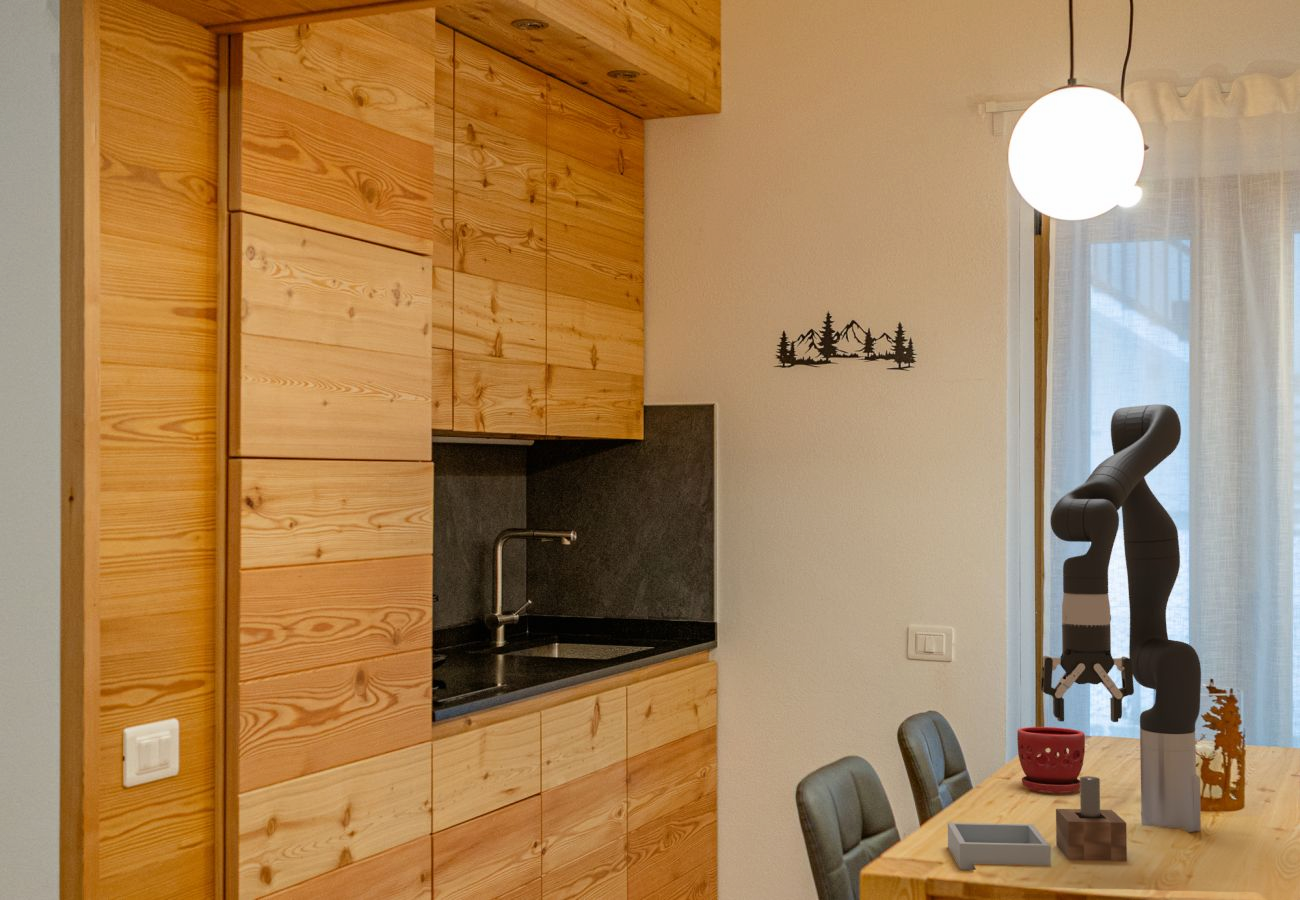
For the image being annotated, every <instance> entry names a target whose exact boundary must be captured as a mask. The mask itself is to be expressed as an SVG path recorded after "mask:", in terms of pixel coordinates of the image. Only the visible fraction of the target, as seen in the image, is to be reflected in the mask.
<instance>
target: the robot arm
mask: <svg viewBox="0 0 1300 900" xmlns="http://www.w3.org/2000/svg"><path fill="white" fill-rule="evenodd" d="M1181 436H1182V426H1181V420H1180V418H1179V415H1178V413H1177V411H1176V410H1175V409H1174V408H1173V407H1172V406H1170V405H1167V404H1157V403H1155V404H1147V405H1146V404H1145V405H1136V406H1135V405H1134V406H1126V407H1120V408H1118V409H1116V410H1115V411H1114V412H1113V414H1112V417H1111V421H1110V438H1111V445H1112V450H1113V451H1112V452H1113V455H1111V456H1109V457H1107V458H1106V459H1104V460H1103V461H1102V462H1101V463H1100V464H1098V465H1097V466H1096V468H1094V470H1093V471H1092V473H1090V475H1089V476H1088V477H1087V479H1086V480H1085V482H1084V483H1083V484H1081V485H1078V486H1077V487H1076V488H1074V489H1073V490H1071V491H1070V492H1068V493H1066V494H1064V495H1063V496H1062V497H1061V498H1060V499H1059V500H1058V501H1057V502H1056V504H1055V505H1054V507H1053V509H1052V511H1051V514H1050V527H1051V530H1052V532H1053V534H1054V535H1055V536H1056V537H1057V538H1058V539H1060V540H1061V541H1065V542H1071V543H1072V542H1075V543H1076V542H1079V543H1080V542H1081V543H1082V542H1083V543H1084V542H1085V543H1090V545H1089V548H1088V550H1087V551H1086V553H1085V554H1082V555H1077V556H1071V557H1068V558H1067V559H1065V560H1064V562H1063V566H1062V587H1063V588H1062V589H1063V592H1062V593H1063V594H1062V595H1063V596H1062V601H1061V602H1062V603H1061V640H1062V641H1061V644H1062V645H1061V647H1062V648H1061V649H1062V653H1061V655H1060V657H1052V656H1048V655H1044V656H1043V657H1042V659H1041V679H1040V680H1041V681H1040V691H1041V692H1042V693H1044V694H1045V695H1048V696H1051V697H1052V714H1053V717H1055V718H1056V719H1057V721H1058V722H1065V699H1064V698H1063V697H1064V695H1065V693H1066V692H1067V690H1068V689H1070V688H1071V687H1072V686H1073V684H1074V683H1076V684H1077V685H1086V684H1090V685H1091V684H1092V685H1099V684H1100V683H1102V685H1103V686H1104V687H1105V688H1106V690H1107V691H1108V692H1109V693H1110V695H1111V697H1110V699H1109V700H1110V702H1109V703H1110V704H1109V705H1110V721H1111V722H1113V723H1118V722H1119V719H1122V717H1123V699H1124V698H1125V697H1127V696H1132V695H1134V693H1135V689H1134V679H1135V681H1136V682H1137V683H1138V684H1139V685H1140V686H1142V687H1144V688H1147V689H1152V690H1155V697H1154V704H1153V706H1152V707H1150V708H1149V709H1146V710H1143V711H1142V712H1141V713H1140V716H1139V742H1140V743H1139V744H1140V745H1139V746H1140V748H1139V749H1140V751H1139V753H1140V759H1139V760H1140V805H1141V806H1140V809H1141V810H1140V816H1141V817H1140V819H1141V823H1140V824H1141V826H1146V827H1147V826H1148V827H1151V826H1152V827H1158V828H1166V829H1182V830H1184V831H1185V832H1187V833H1193V832H1201V831H1202V827H1201V825H1202V823H1201V822H1202V819H1201V817H1202V815H1201V813H1202V812H1201V811H1202V810H1201V778H1200V776H1199V775H1198V774H1197V760H1196V759H1197V755H1196V754H1197V753H1196V751H1197V750H1196V748H1197V747H1196V745H1197V743H1196V724H1197V720H1198V718H1199V715H1200V711H1201V710H1200V709H1201V691H1202V690H1201V689H1202V688H1201V686H1202V685H1201V683H1202V668H1201V661H1200V657H1199V655H1198V653H1197V651H1196V650H1195V648H1194V647H1193V646H1192V645H1190V644H1189V643H1186V642H1183V641H1179V640H1173V639H1169V635H1168V628H1167V627H1168V626H1167V606H1168V601H1169V598H1170V596H1171V593H1172V591H1173V589H1174V586H1175V584H1176V581H1177V579H1178V575H1179V571H1180V566H1181V554H1180V544H1179V543H1180V542H1179V532H1178V528H1177V526H1176V523H1175V521H1174V520H1173V518H1172V517H1171V515H1170V514H1169V512H1168V510H1166V509H1165V507H1164V506H1163V505H1162V504H1161V502H1160V501H1159V500H1158V498H1157V497H1156V496H1155V494H1154V493H1153V491H1152V490H1151V488H1150V487H1149V485H1148V483H1147V480H1146V478H1145V477H1146V476H1147V475H1148V474H1150V472H1152V471H1153V470H1154V469H1155V468H1157V466H1159V464H1160V463H1161V464H1162V462H1163V461H1164V460H1165V459H1167V458H1168V457H1170V455H1172V454H1173V453H1174V451H1175V450H1176V449H1177V447H1178V445H1180V444H1179V443H1180V440H1181ZM1120 509H1121V514H1122V515H1121V516H1122V532H1123V533H1122V534H1123V535H1122V536H1123V546H1124V549H1123V550H1124V559H1125V564H1126V573H1127V588H1128V603H1129V642H1128V643H1129V650H1128V651H1129V652H1128V655H1129V656H1128V657H1127V656H1122V657H1118V658H1117V657H1116V658H1114V657H1113V656H1112V650H1111V649H1112V645H1111V644H1112V643H1111V641H1112V640H1111V637H1112V636H1111V633H1112V632H1111V621H1112V615H1111V605H1110V600H1109V599H1110V598H1109V566H1110V561H1111V555H1112V553H1113V547H1114V544H1115V541H1116V538H1117V534H1118V531H1119V525H1120V516H1119V510H1120ZM1058 665H1060V667H1061V668H1062V669H1063V670H1064V672H1065V673H1064V674H1063V675H1062V676H1061V678H1059V680H1058V682H1057V683H1056V685H1055V686H1054V687H1053V686H1052V684H1053V683H1052V682H1053V681H1052V680H1053V671H1055V670H1057V668H1058V667H1057V666H1058ZM1114 666H1116V669H1117V670H1118V671H1119V672H1120V674H1121V687H1120V688H1118V686H1117V685H1116V684H1115V682H1114V680H1112V678H1111V676H1110V675H1109V673H1110V671H1111V670H1112V669H1113V668H1114Z"/></svg>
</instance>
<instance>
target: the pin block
mask: <svg viewBox="0 0 1300 900" xmlns="http://www.w3.org/2000/svg"><path fill="white" fill-rule="evenodd" d="M1055 834H1056V835H1055V839H1056V841H1055V842H1056V844H1055V845H1056V847H1057V848H1058V849H1059V851H1060V852H1061V853H1062V854H1063V855H1064V856H1065V857H1066V859H1067V860H1068V861H1090V862H1091V861H1095V862H1097V861H1098V862H1099V861H1100V862H1127V861H1128V850H1127V849H1128V848H1127V847H1128V846H1127V845H1128V844H1127V843H1128V842H1127V841H1128V840H1127V822H1126V821H1125V820H1124V819H1123V818H1122V817H1121V816H1119V815H1118V814H1117V813H1116V812H1115V811H1114V810H1113V809H1100V819H1090V818H1081V808H1055Z"/></svg>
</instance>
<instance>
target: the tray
mask: <svg viewBox="0 0 1300 900" xmlns="http://www.w3.org/2000/svg"><path fill="white" fill-rule="evenodd" d="M947 848H948V850H949V852H950V853H951V855H952V857H953V859H954V861H955V863H956V864H957V866H958V869H959V870H966V871H967V870H971V871H977V868H976V866H975V865H976V864H977V865H978V864H979V865H985V864H986V865H1018V866H1019V865H1020V866H1051V865H1052V861H1051V860H1052V858H1051V857H1052V854H1051V851H1052V850H1051V849H1052V848H1051V845H1050V843H1049V842H1048V840H1046V838H1045V837H1044V836H1043V834H1041V832H1040V831H1039V830H1038V828H1037V827H1036V826H1035V825H1034V824H1031V823H1027V824H1025V823H988V822H987V823H985V822H983V823H982V822H974V823H973V822H947ZM974 864H975V865H974Z"/></svg>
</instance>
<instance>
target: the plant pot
mask: <svg viewBox="0 0 1300 900" xmlns="http://www.w3.org/2000/svg"><path fill="white" fill-rule="evenodd" d="M1085 736H1086V734H1085V732H1083V731H1082V730H1078V729H1072V728H1065V727H1055V726H1053V727H1050V726H1030V727H1023V728H1022V727H1021V728H1018V729H1017V736H1016V737H1017V739H1016V740H1017V741H1016V742H1017V752H1018V753H1017V754H1018V760H1019V763H1020V766H1021V769H1022V772H1023V773H1024V774H1025V776H1022V778H1021V783H1022V784H1023V786H1024V787H1025V788H1027V789H1029V790H1032V791H1034V792H1038V793H1039V792H1040V793H1045V794H1055V795H1060V794H1070V793H1073V792H1077V791H1078V790H1079V789H1080V779H1078V777H1079V776H1080V774H1081V771H1082V769H1083V765H1084V759H1085V758H1084V757H1085V752H1086V751H1085V749H1086V748H1085V747H1086V740H1085V739H1086V738H1085ZM1047 749H1049V750H1050V751H1049V752H1047V751H1046V750H1047ZM1067 749H1068V751H1067Z"/></svg>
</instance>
